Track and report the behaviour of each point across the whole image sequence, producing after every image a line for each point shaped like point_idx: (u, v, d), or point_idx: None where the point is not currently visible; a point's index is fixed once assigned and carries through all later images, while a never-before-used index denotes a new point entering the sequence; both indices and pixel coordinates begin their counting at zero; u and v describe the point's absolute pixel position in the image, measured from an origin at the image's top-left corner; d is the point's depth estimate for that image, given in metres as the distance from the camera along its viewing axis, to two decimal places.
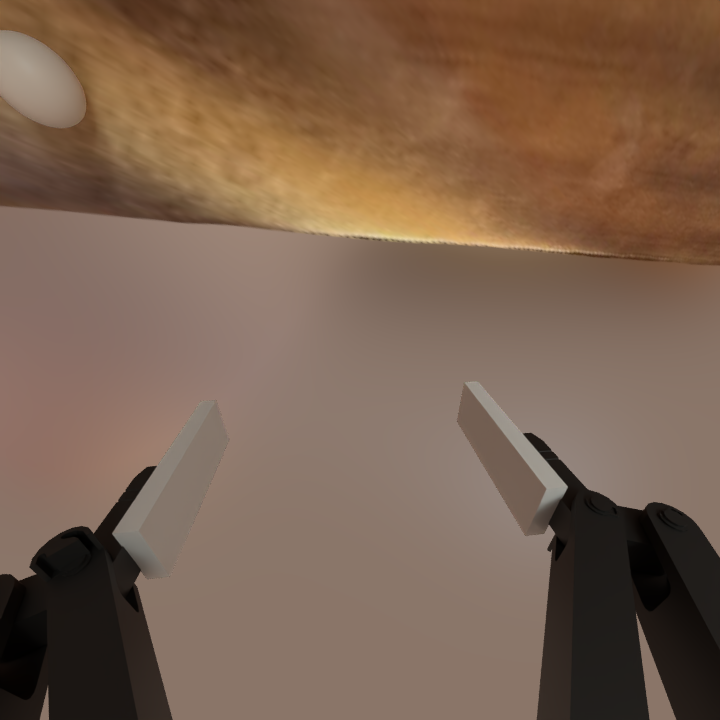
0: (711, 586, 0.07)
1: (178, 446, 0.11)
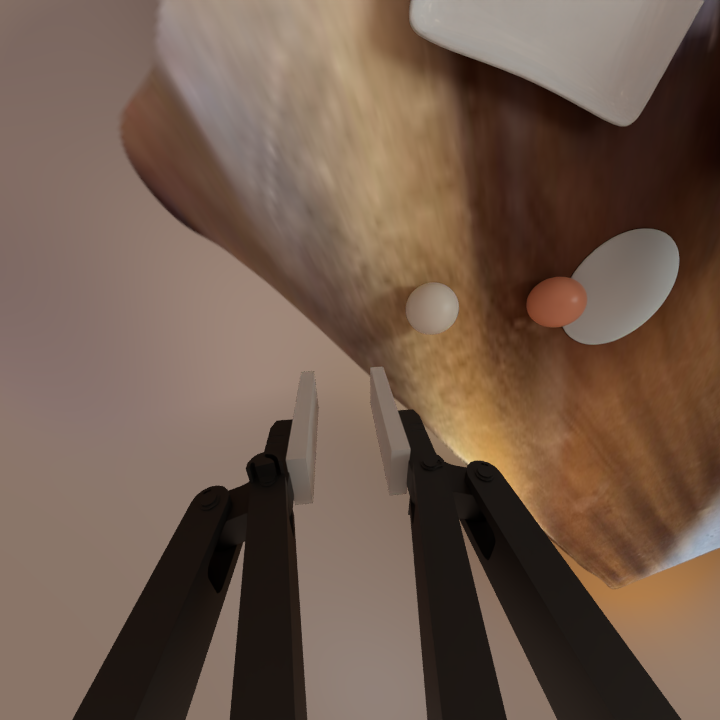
0: (515, 522, 0.08)
1: (302, 403, 0.14)
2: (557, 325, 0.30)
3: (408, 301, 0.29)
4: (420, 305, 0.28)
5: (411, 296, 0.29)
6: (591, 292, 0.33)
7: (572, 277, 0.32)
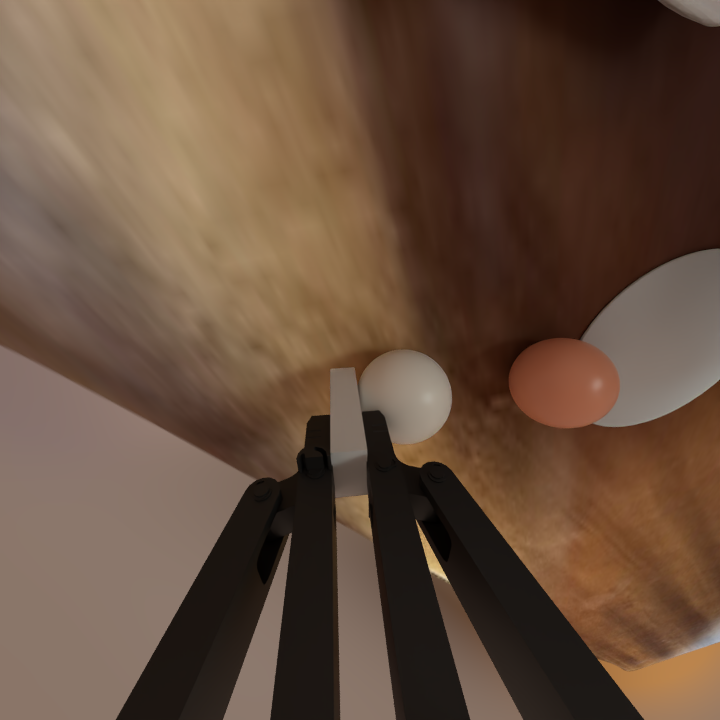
0: (468, 521, 0.08)
1: (336, 399, 0.14)
2: None
3: (393, 409, 0.14)
4: (432, 405, 0.14)
5: (396, 398, 0.14)
6: (620, 353, 0.20)
7: (587, 332, 0.19)
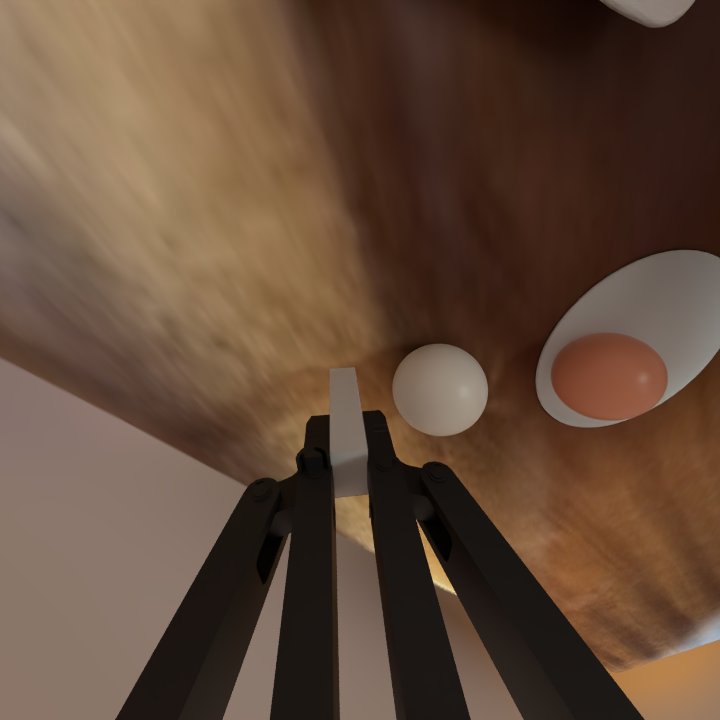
0: (469, 521, 0.08)
1: (336, 399, 0.14)
2: None
3: (486, 383, 0.16)
4: None
5: (483, 373, 0.16)
6: None
7: (554, 332, 0.19)
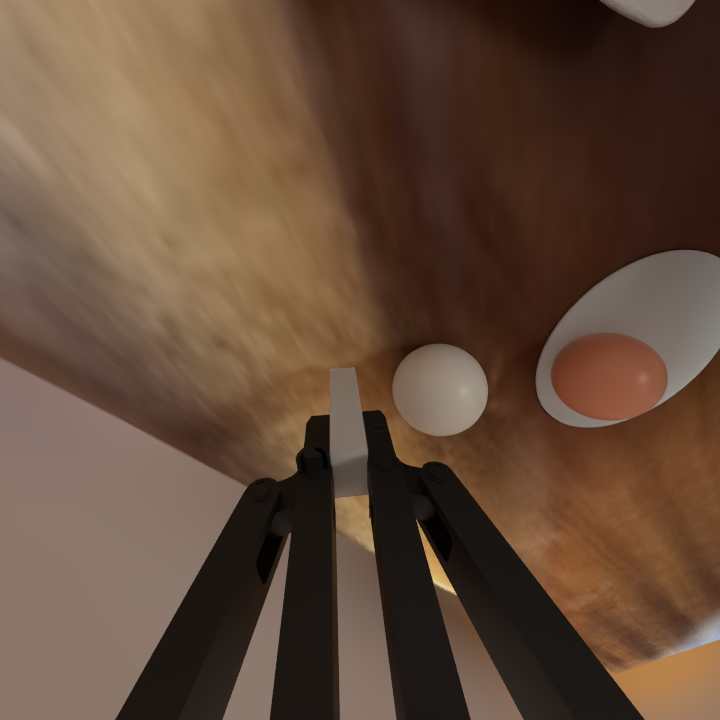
0: (469, 521, 0.08)
1: (336, 399, 0.14)
2: None
3: (486, 383, 0.16)
4: None
5: (483, 373, 0.16)
6: None
7: (554, 332, 0.19)
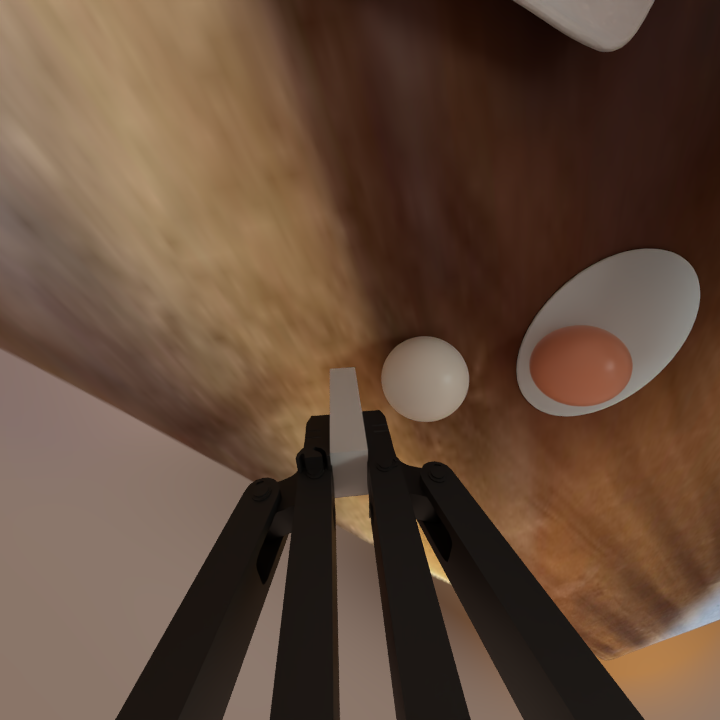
0: (469, 521, 0.08)
1: (336, 399, 0.14)
2: None
3: (467, 372, 0.17)
4: None
5: (464, 362, 0.17)
6: None
7: (532, 325, 0.20)
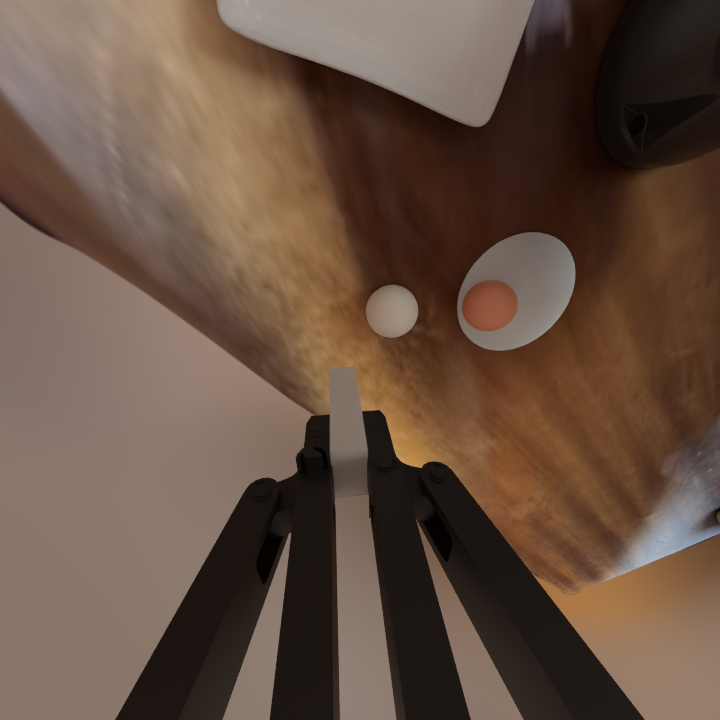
0: (469, 521, 0.08)
1: (336, 399, 0.14)
2: None
3: (416, 305, 0.28)
4: None
5: (414, 299, 0.28)
6: None
7: (464, 282, 0.31)
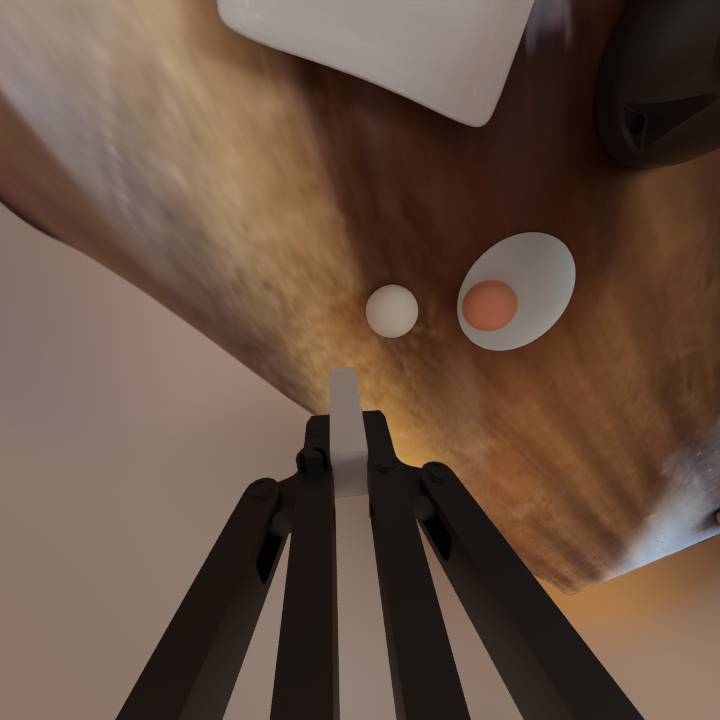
0: (469, 521, 0.08)
1: (336, 399, 0.14)
2: None
3: (416, 305, 0.28)
4: None
5: (414, 299, 0.28)
6: None
7: (464, 282, 0.31)
